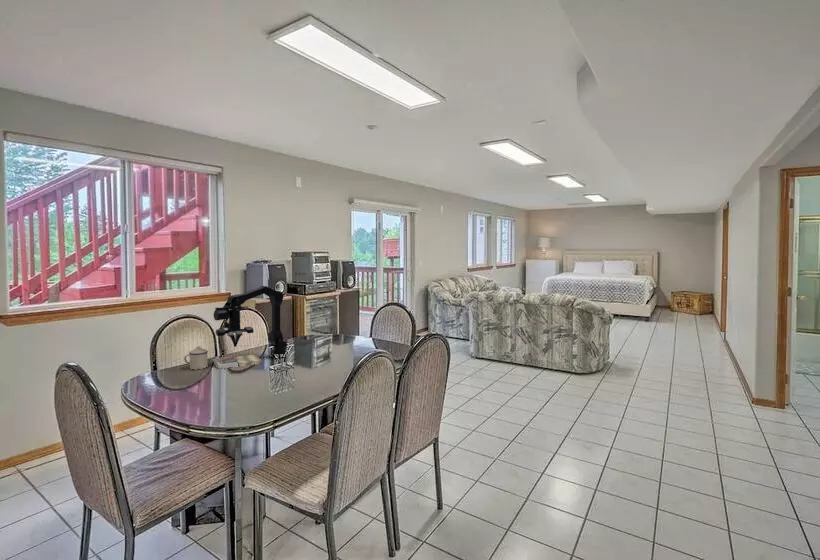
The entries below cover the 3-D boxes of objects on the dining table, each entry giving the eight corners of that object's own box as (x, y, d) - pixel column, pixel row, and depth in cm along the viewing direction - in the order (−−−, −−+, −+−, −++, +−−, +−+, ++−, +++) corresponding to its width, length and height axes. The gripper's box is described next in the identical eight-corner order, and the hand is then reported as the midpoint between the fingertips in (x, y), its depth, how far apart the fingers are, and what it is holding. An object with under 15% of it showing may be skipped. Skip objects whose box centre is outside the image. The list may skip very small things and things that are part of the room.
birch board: (254, 357, 256) (254, 354, 256) (261, 363, 243) (261, 360, 243) (232, 360, 250) (232, 357, 250) (239, 366, 236) (239, 363, 236)
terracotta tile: (231, 359, 247) (230, 355, 247) (233, 360, 243) (232, 357, 242) (222, 361, 244) (221, 358, 244) (224, 363, 240) (223, 360, 240)
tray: (232, 360, 249) (231, 356, 249) (238, 366, 236) (238, 362, 236) (213, 363, 244) (213, 358, 244) (218, 369, 231) (218, 364, 230)
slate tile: (234, 361, 242) (233, 358, 241) (236, 363, 237) (235, 359, 237) (224, 364, 239) (223, 360, 239) (226, 366, 235) (225, 362, 234)
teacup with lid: (210, 365, 239) (210, 344, 238) (204, 370, 230) (203, 348, 229) (188, 365, 238) (187, 344, 237) (180, 370, 228) (180, 348, 228)
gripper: (248, 315, 249) (249, 342, 250) (213, 318, 239) (214, 346, 240) (253, 318, 240) (254, 345, 241) (217, 320, 230) (217, 349, 231)
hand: (235, 346), depth 238 cm, fingers closed
